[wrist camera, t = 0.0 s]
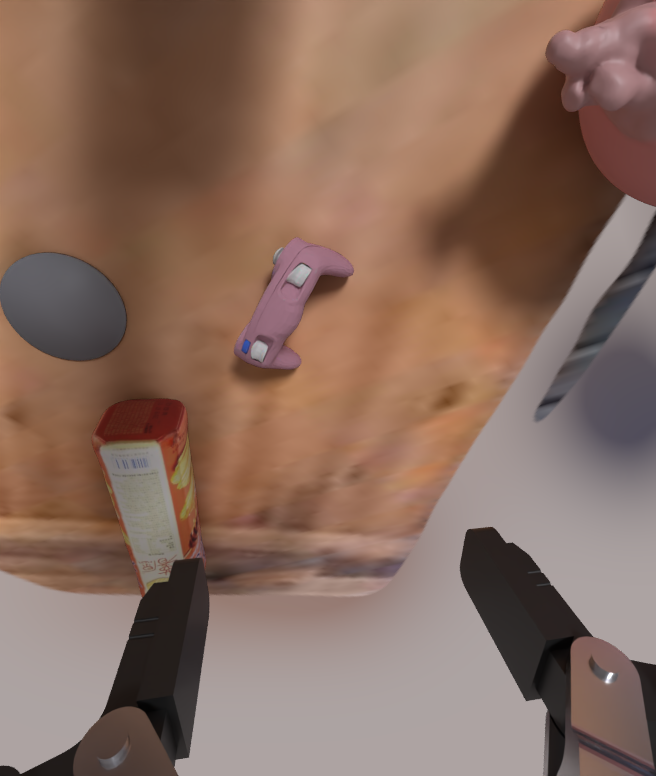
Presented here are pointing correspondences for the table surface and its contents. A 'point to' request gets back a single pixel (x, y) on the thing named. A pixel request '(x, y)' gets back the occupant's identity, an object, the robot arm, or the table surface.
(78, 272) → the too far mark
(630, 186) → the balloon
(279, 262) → the video game controller
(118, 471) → the snack package
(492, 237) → the table surface
